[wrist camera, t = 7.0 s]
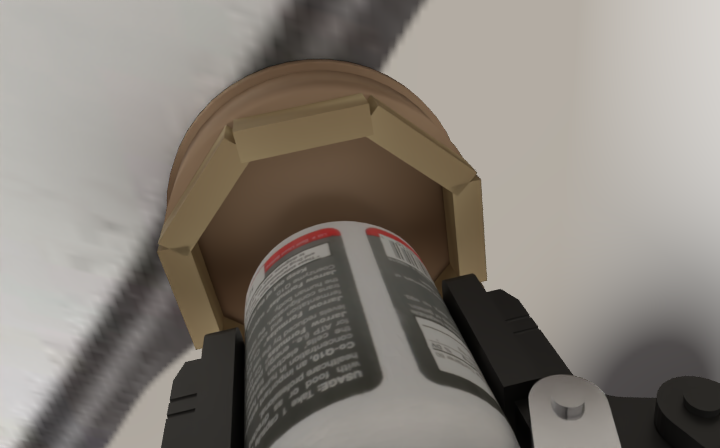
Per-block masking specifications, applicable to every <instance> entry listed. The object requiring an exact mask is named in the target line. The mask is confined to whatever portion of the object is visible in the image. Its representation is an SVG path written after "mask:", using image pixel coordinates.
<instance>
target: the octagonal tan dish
mask: <svg viewBox="0 0 720 448" xmlns="http://www.w3.org/2000/svg"><path fill="white" fill-rule="evenodd" d="M476 174H477V172H476V171H475V170H474V169H473V168H472V167H471V166H470V165H469V164H468V162H467V161H466V160H464V158H463V157H462V156H461V154H460V152H459V151H458V150H457V148H456V147H455V145H454V144H453V143H452V142H451V141H450V139H449V136H448V135H447V132H446V131H445V129H444V128H443V126H442V125H441V123H440V122H439V120H438V119H437V117H436V116H435V115H434V114H433V113H432V111H431V110H430V109H429V108H428V107H427V106H426V105H425V104H424V103H423V102H422V101H421V100H420V99H419V98H418V97H417V96H416V95H415V94H414V93H412V92H411V91H410V90H409V89H408V88H406V87H405V86H404V85H402V84H401V83H399V82H397V81H396V80H394V79H392V78H391V77H389V76H388V75H385V74H383V73H381V72H378V71H376V70H374V69H372V68H369V67H365V66H362V65H358V64H355V63H351V62H345V61H338V60H331V59H307V60H299V61H292V62H286V63H282V64H278V65H275V66H271V67H267V68H265V69H262V70H260V71H258V72H255V73H253V74H251V75H248V76H246V77H245V78H243V79H241V80H240V81H238V82H236V83H234V84H233V85H231V86H229V87H228V88H227V89H226V90H224V91H223V92H222V93H221V94H219V95H218V96H217V97H216V98H214V99H213V100H212V101H211V102H210V103H209V104H208V105H207V106H206V107H205V109H204V110H203V111H202V112H201V113H200V114H199V115H198V116H197V118H196V119H195V121H194V122H193V124H192V125H191V126H190V128H189V129H188V131H187V133H186V135H185V137H184V139H183V141H182V143H181V144H180V146H179V149H178V152H177V155H176V158H175V161H174V164H173V167H172V170H171V173H170V178H169V184H168V190H167V210H166V215H165V221H164V225H163V228H162V231H161V235H160V238H159V241H158V244H159V247H158V251H157V253H158V255H159V258H160V260H161V263H162V265H163V268H164V270H165V273H166V276H167V278H168V281H169V283H170V286H171V288H172V291H173V293H174V296H175V298H176V301H177V303H178V306H179V308H180V311H181V313H182V316H183V318H184V321H185V323H186V326H187V328H188V331H189V333H190V336H191V338H192V341H193V343H194V346H195V348H196V350H197V349H201V348H202V349H203V341H204V336H205V335H206V334H210V333H214V332H218V331H223V330H227V329H231V328H235V327H238V328H239V330H240V332H241V335H242V338H243V341H244V344H245V323H244V319H245V303H246V295H247V292H248V288H249V285H250V283H251V280H252V278H253V276H254V274H255V272H256V270H257V268H258V267H259V265H260V264H261V262H262V261H263V259H264V258H265V257H266V256H267V255H268V254H269V252H270V251H271V250H272V249H273V248H274V247H276V246H277V245H278V244H279V243H281V242H282V241H283V240H285V239H287V238H288V237H290V236H291V235H293V234H295V233H297V232H299V231H301V230H304V229H306V228H309V227H312V226H315V225H318V224H322V223H327V222H336V221H355V222H362V223H367V224H371V225H375V226H378V227H381V228H384V229H386V230H388V231H390V232H392V233H394V234H396V235H398V236H399V237H400V238H402V239H403V240H404V241H406V242H407V243H408V244H409V245H410V246H411V247H412V248H413V249H414V251H415V252H416V253H417V254H418V256H419V257H420V259H421V260H422V262H423V264H424V266H425V267H426V269H427V271H428V273H429V275H430V276H431V278H432V280H433V282H434V284H435V286H436V288H437V290H438V291H439V293H440V295H441V297H442V299H443V294H442V281H443V280H445V279H450V278H454V277H458V276H463V275H467V274H471V273H473V274H475V275H476V277H477V278H478V280H479V281H480V283H481V282H483V281H487V272H486V256H485V239H484V222H483V205H482V189H481V179H480V178H479V177H478V176H477V175H476ZM481 284H482V283H481ZM482 286H483V285H482ZM483 288H484V286H483Z"/></svg>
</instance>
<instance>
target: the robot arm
mask: <svg viewBox="0 0 720 448" xmlns="http://www.w3.org/2000/svg"><path fill="white" fill-rule="evenodd" d="M442 294H443V301H444V303H445V304H446V306H447V308H448V310H449V312H450V314H451V316H452V318H453V320H454V322H455V323H456V325H457V327H458V329H459V331H460V333H461V335H462V337H463V339H464V340H465V342H466V344H467V346H468V348H469V350H470V352H471V353H472V355H473V357H474V359H475V361H476V363H477V365H478V366H479V368H480V370H481V372H482V374H483V376H484V378H485V380H486V382H487V384H488V385H489V387H490V389H491V391H492V393H493V394H494V396H495V398H496V400H497V402H498V404H499V406H500V407H501V409H502V411H503V413H504V415H505V416H506V417H507V419H508V420H509V423H510V425H511V427H512V429H513V432H514V434H515V436H516V439H517V441H518V443H519V446H520V448H720V383H718V382H715V381H712V380H709V379H706V378H701V377H694V376H682V377H676V378H672V379H670V380H668V381H666V382H665V383H663V384H662V385H661V387H660V388H659V390H658V393H657V398H633V397H615V396H609V395H606V394H604V393H603V392H602V391H601V390H600V389H599V388H598V387H597V386H596V385H595V384H593V383H591V382H590V381H588V380H586V379H583V378H581V377H577V376H574V375H573V374H572V373H571V372H570V370H569V369H568V367H567V366H566V365H565V363H564V362H563V360H562V359H561V358H560V356H559V355H558V354H557V352H556V351H555V349H554V348H553V347H552V345H551V344H550V343H549V341H548V340H547V338H546V337H545V336H544V334H543V333H542V332H541V330H539V329H538V326H537V325H536V323H535V322H534V321H533V319H532V318H531V317H530V316H529V314H528V312H527V311H526V309H525V308H524V307H523V305H522V304H521V303H520V301H519V300H518V299H516V298H515V297H513V296H511V295H510V294H508V293H506V292H505V291H503V290H501V289H498V290H494V291H490V292H486V291H485V289H484V288H483V286H482V284H481V283H480V281H479V280H478V278H477V277H476V275H475V274H473V273H471V274H467V275H463V276H458V277H454V278H450V279H445V280H443V281H442ZM244 346H245V344H244V341H243V338H242V335H241V332H240V330H239V328H238V327H235V328H231V329H227V330H223V331H218V332H214V333H210V334H206V335H205V336H204V341H203V349H202V358H201V359H197V360H193V361H188V362H185V364H184V365H183V367H182V368H181V370H180V371H179V373H178V374H177V376H176V377H175V379H174V380H173V385H172V390H171V396H170V403H169V407H168V412H167V417H168V419H166V423H165V429H164V435H163V440H162V446H161V448H244V361H245V349H244Z"/></svg>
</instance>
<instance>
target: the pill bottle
mask: <svg viewBox="0 0 720 448" xmlns="http://www.w3.org/2000/svg"><path fill="white" fill-rule="evenodd" d="M244 323H245V346H244V349H245V361H244V448H520V446H519V443H518V441H517V439H516V436H515V434H514V432H513V429H512V427H511V425H510V423H509V420H508V419H507V417H506V416H505V415H504V413H503V411H502V409H501V407H500V406H499V404H498V402H497V400H496V398H495V396H494V394H493V393H492V391H491V389H490V387H489V385H488V384H487V382H486V380H485V378H484V376H483V374H482V372H481V370H480V368H479V366H478V365H477V363H476V361H475V359H474V357H473V355H472V353H471V352H470V350H469V348H468V346H467V344H466V342H465V340H464V339H463V337H462V335H461V333H460V331H459V329H458V327H457V325H456V323H455V322H454V320H453V318H452V316H451V314H450V312H449V310H448V308H447V306H446V304H445V303H444V301H443V299H442V297H441V295H440V293H439V291H438V290H437V288H436V286H435V284H434V282H433V280H432V278H431V276H430V275H429V273H428V271H427V269H426V267H425V266H424V264H423V262H422V260H421V259H420V257H419V256H418V254H417V253H416V252H415V251H414V249H413V248H412V247H411V246H410V245H409V244H408V243H407V242H406V241H404V240H403V239H402V238H400V237H399V236H398V235H396V234H394V233H392V232H390V231H388V230H386V229H384V228H381V227H378V226H375V225H371V224H367V223H362V222H355V221H336V222H327V223H322V224H318V225H315V226H312V227H309V228H306V229H304V230H301V231H299V232H297V233H295V234H293V235H291V236H290V237H288V238H287V239H285V240H283V241H282V242H281V243H279V244H278V245H277V246H276V247H274V248H273V249H272V250H271V251H270V252H269V254H268V255H267V256H266V257H265V258H264V259H263V261H262V262H261V264H260V265H259V267H258V268H257V270H256V272H255V274H254V276H253V278H252V280H251V283H250V285H249V288H248V292H247V295H246V303H245V319H244Z"/></svg>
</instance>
